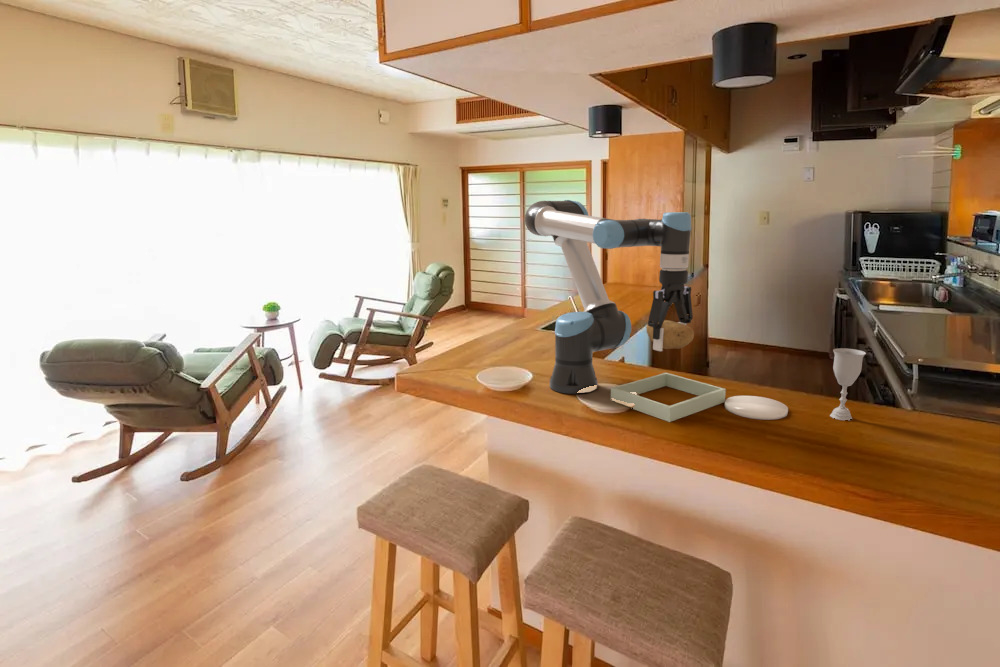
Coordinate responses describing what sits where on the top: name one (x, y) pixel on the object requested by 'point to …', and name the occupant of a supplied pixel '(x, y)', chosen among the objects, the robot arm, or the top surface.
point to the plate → (756, 407)
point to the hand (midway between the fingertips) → (669, 347)
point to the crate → (705, 392)
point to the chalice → (846, 376)
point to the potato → (673, 334)
